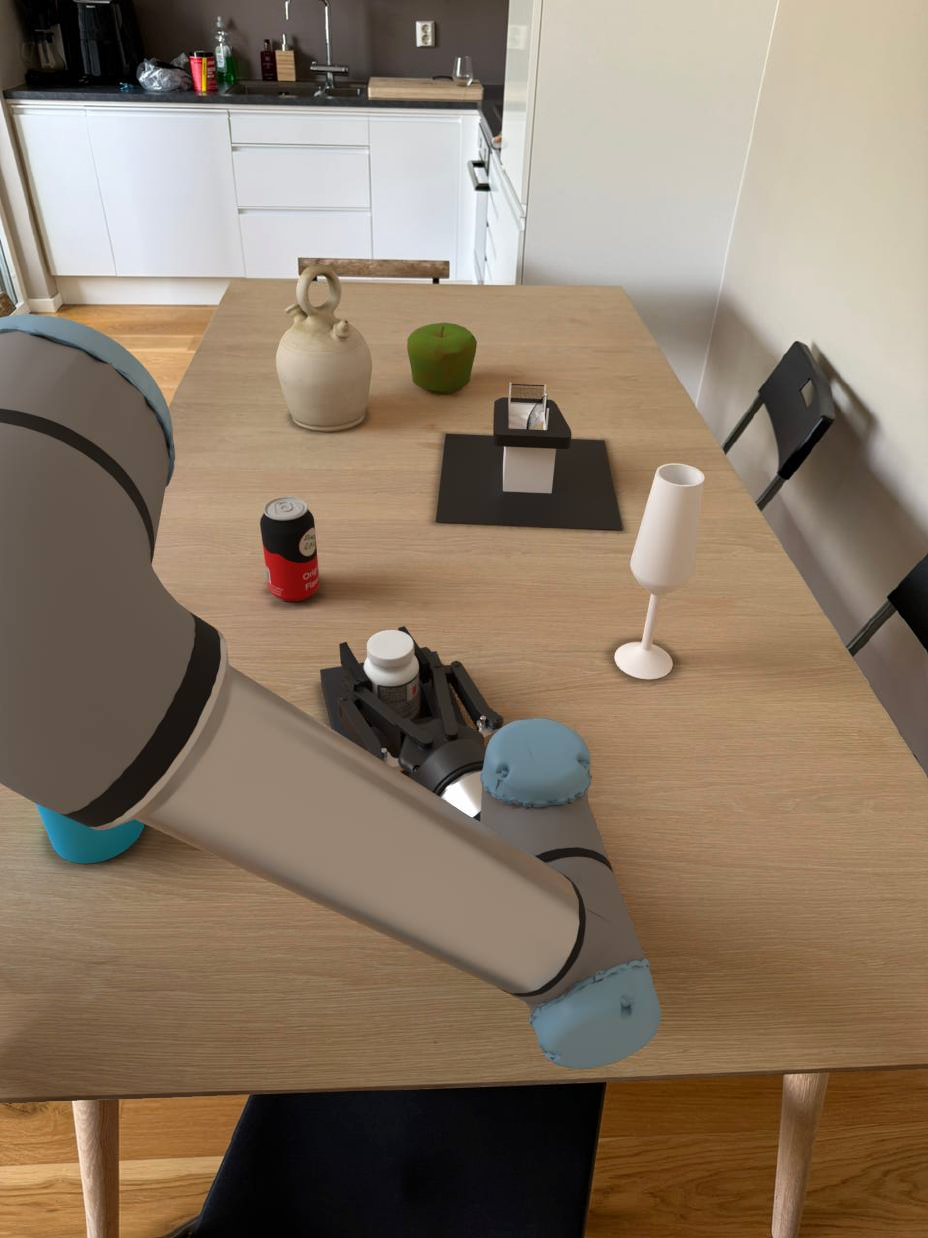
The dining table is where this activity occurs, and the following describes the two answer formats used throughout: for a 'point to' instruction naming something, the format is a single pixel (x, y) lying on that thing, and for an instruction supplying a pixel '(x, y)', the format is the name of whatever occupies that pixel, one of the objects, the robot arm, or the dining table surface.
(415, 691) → the pill bottle
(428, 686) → the dock pad
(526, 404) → the black-topped pedestal
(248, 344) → the dining table surface
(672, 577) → the champagne flute
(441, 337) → the apple
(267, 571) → the beverage can
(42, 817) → the mug
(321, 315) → the jug
